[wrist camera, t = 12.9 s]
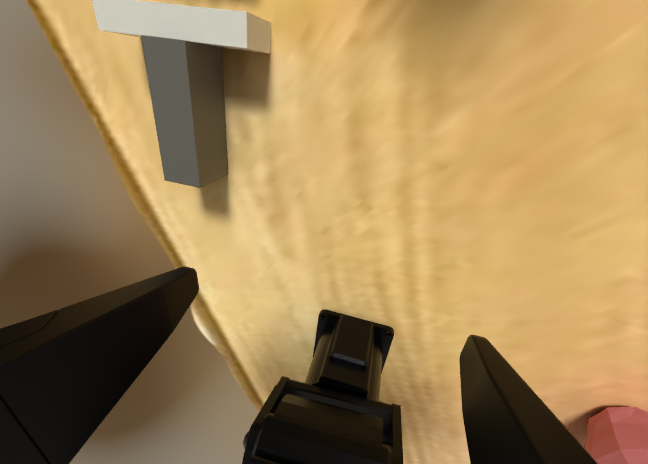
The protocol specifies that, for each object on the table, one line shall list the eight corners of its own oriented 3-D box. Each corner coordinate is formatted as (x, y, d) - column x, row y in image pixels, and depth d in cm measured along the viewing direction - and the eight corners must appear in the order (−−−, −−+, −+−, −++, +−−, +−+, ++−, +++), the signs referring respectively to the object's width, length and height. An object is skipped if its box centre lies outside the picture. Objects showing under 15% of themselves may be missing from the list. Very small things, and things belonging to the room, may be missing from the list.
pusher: (268, 181, 21) (245, 197, 18) (161, 159, 22) (123, 171, 19) (271, 23, 16) (241, 9, 13) (136, 8, 18) (81, -7, 15)
